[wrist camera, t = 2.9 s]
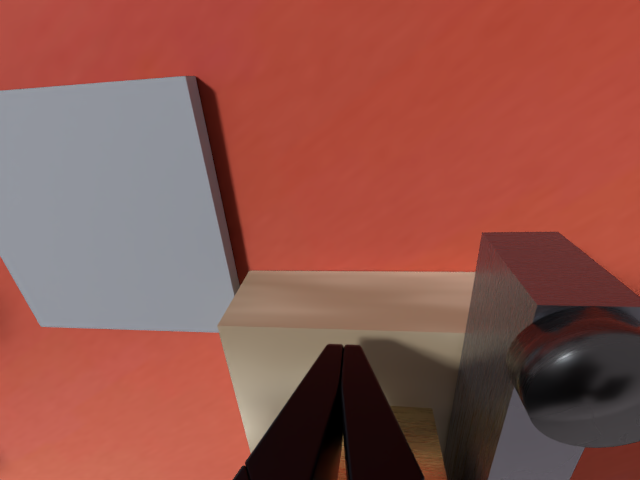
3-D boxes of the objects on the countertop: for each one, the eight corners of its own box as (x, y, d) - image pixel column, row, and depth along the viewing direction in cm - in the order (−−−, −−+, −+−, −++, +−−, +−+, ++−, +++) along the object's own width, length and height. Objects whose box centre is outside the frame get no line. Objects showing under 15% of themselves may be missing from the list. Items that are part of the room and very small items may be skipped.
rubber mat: (247, 323, 13) (242, 333, 13) (52, 317, 14) (40, 326, 14) (195, 76, 9) (185, 76, 9) (-68, 96, 10) (-91, 97, 10)
